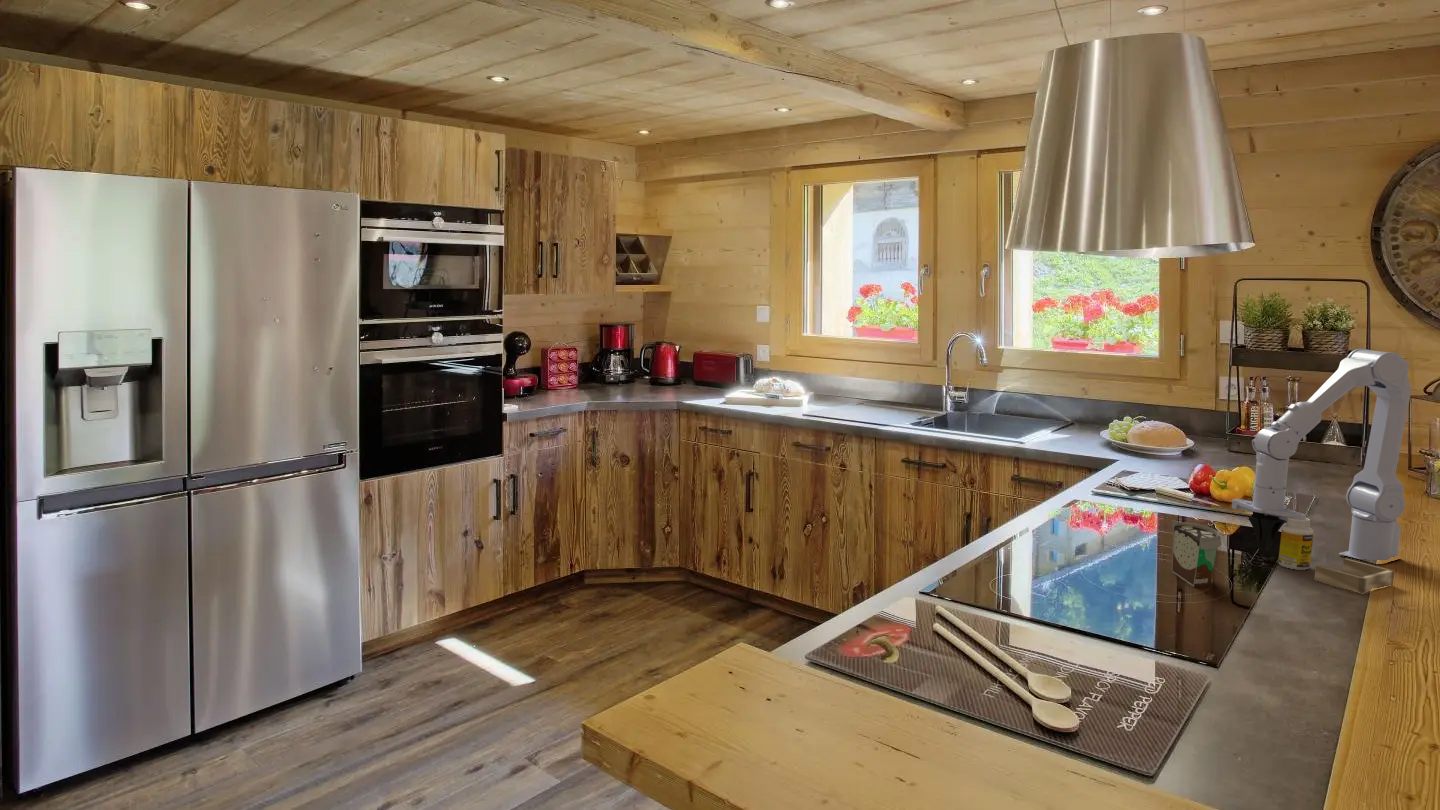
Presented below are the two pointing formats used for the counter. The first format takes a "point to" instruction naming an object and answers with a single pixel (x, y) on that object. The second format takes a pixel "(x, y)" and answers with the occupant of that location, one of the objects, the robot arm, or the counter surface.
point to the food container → (1194, 552)
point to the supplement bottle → (1296, 544)
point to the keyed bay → (1355, 576)
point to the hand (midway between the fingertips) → (1264, 549)
